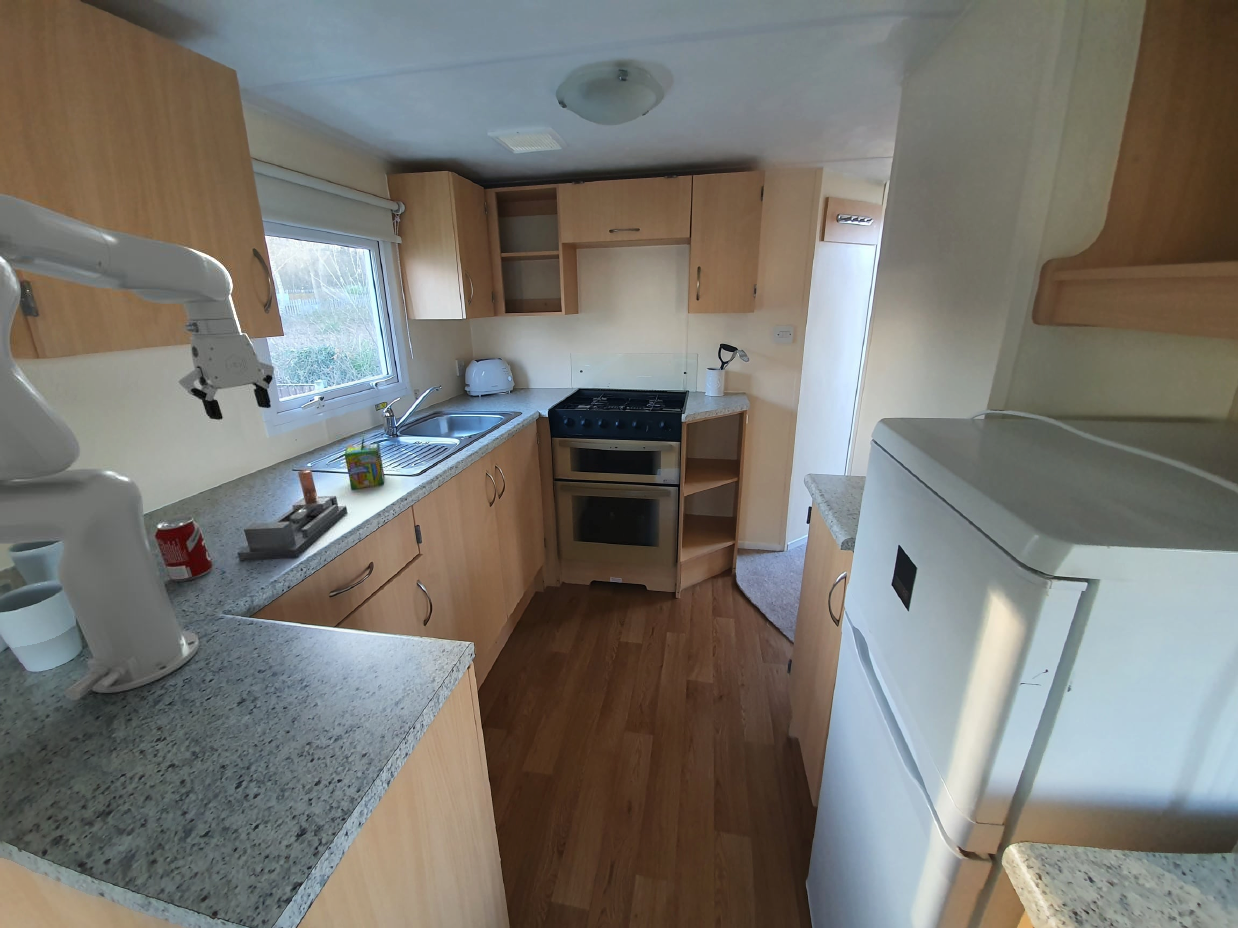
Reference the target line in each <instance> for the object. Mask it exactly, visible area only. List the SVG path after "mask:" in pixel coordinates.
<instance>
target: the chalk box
mask: <svg viewBox="0 0 1238 928" xmlns="http://www.w3.org/2000/svg"><path fill="white" fill-rule="evenodd" d="M364 441H365V435H362V440H361V444H353V445H346V447H345V452H344V459H345V464H346V465H345V466H346V469H347V474H348V478H349V484H350V489H351V490H357V489H363V488H371V487H379V486H384V484H385V472H384V466H383V459H382V455H381V454H382V453H381V448H380V442H374V443H373V442H371V443H365V442H364Z"/></svg>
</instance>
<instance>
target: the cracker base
mask: <svg viewBox="0 0 1238 928" xmlns="http://www.w3.org/2000/svg"><path fill="white" fill-rule="evenodd" d="M317 497H318V498H331V501H332V505H331V506H330V507H329V508H327V509H326V510H325V511H324V512H322V513H321V514H320V515H309V516H308V517H306V518H305V519H304V520H302V521H301V522H300V523H298V524H293V523H292V522H291V521H290V517H291V516H292V515H293V514H294V510H293V507H292V508H291V509H289V510H288V511H286V512H285V513H283V514H282V515H281V516H280V517H278V518H277V519H275V520H274V521H273V522H257V523H256V522H255V523H251V524H249V525H248V526H246V527H245V528H244V529H243V532H244V534H245V535H244V536H245V539H246V542H247V545H245V546H244V547H243V548H242V549H241V550H239V551H237V557H238V560H239V562H246V561H247V562H249V561H265V560H266V561H267V560H286V559H287V560H289V559H298V558H299V557H301V555H302V554H303V553H305V552H306V550H308V549H309V548H311V546H313V544H314V543H316V542H317V541H318V540H319V539H320V538H321V537H322V536H323V535H325V534H326V533H327V532H328V531H329V530H330V529H331V528H333V527H334V526H335V525H336V524H337V523H338V522H339V521H340V520H342V518H344V517H345V516H346V515H347V514H348V509H347V508H348V507H347V505H340V506H339V503H338V498H337V495H327V496H326V495H323V496H317ZM301 499H304V497H303V498H301ZM343 516H344V517H343Z"/></svg>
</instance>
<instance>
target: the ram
mask: <svg viewBox="0 0 1238 928" xmlns="http://www.w3.org/2000/svg"><path fill="white" fill-rule="evenodd" d="M297 474H298V478H299V482H300V486H301V490H302V494H303V498H304V499H302V498H300V499H299V500H297V501H296V502H295V503H293V504H292V506H291V507H292V508H293V510H294V514H293V515H292V516H291V517H290V521H291V522H292V523H293V524H298V523H300V522H301V521H302V520H304V519H305V518H306V517H308V516H309V515H320V514H321V513H322V512H324V511H325V510H326V509H327V508H329V507H330V506H331V505H332V501H331V498H318V497H319V496H318V493H317V489H316V485H315V480H314V477H313V473H312V469H305V470H300V471H298V472H297Z"/></svg>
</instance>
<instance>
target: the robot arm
mask: <svg viewBox="0 0 1238 928" xmlns="http://www.w3.org/2000/svg"><path fill="white" fill-rule="evenodd" d="M15 270H18V271H23V272H27V273H33V274H37V275H41V276H45V277H50V278H54V279H59V280H63V281H67V282H71V283H75V284H80V285H83V286H87V287H92V288H100V289H108V290H109V289H111V290H118V291H119V290H122V291H132V293H134V294H135V295H136V296H137V297H139V298H140V299H142V300H146V301H148V302H150V303H157V304H182V305H183V307H184V310H185V313H186V317H187V323H186V324H182V329H183V331H184V332H185V333H186V332H187V333H188V332H189V333H191V335H192V336H193V337H192V336H191V337H190V338H189V340H190V353H191V357H192V364H193V368H194V370H192V371H190V372H189V373H187V374H186V375H185V376H183V377H182V378H181V379H179V381H178V383H179V385H180V386H181V387H183V388H184V389H185V390H186V391H187V393H188V394H189V395H191V396H194V397H196V398H197V399H198V400H201V402H202V404H203V408H204V411H205V413H206V416H208V418H209V419H211V420H217V421H220V420H223V419H224V417H223V413H222V410H221V408H220V404H219V402H218V401H219V400H217V399H214V398H215V396H216V394H217V392H218V390H224V389H230V388H236V387H241V386H246V385H247V386H248V385H252V386H253V387H255V388H253V393H254V396H255V400H256V404H257V406H258V408H264V409H271V407H272V406H271V397H270V395H269V392H268V389H270V384H271V382H272V381H273V375H274V370H275V367H274V366H273V365H270V364H268V363H265V362H264V363H263V362H260V361H259V358H258V355H257V352H256V350H255V348H254V345H253V343H252V342H251V340H250V338H249V337H248V335H247V333H242V330H241V327H240V323H239V320H238V316H237V313H236V310H235V306H234V303H233V302H234V301H233V299H232V296H231V294H232V291H233V282H232V281H233V280H232V278H231V276H230V273H229V272H228V271H227V269H226V268H225V267H224V265H223V264H221V263H220V262H219V261H218V260H216V259H215V258H214V257H211V256H210V255H208V254H205V253H203V252H200V251H197V250H195V249H192V248H189V247H186V246H183V245H180V244H175V243H171V242H166V241H161V240H156V239H152V238H147V237H143V236H138V235H136V234H135V235H134V234H130V233H125V232H120V231H114V230H110V229H105V228H101V227H98V226H95V225H93V224H89V223H87V222H84V221H81V220H78V219H75V218H73V217H70V216H67V215H65V214H62V213H59V212H56V211H54V210H51V209H49V208H46V207H44V206H43V207H42V206H40V205H37V204H35V203H32V202H29V201H27V200H24V199H21V198H18V197H15V196H12V195H8V194H3V193H0V544H3V545H5V544H24V543H25V544H26V543H27V544H28V543H39V542H62V543H63V545H64V546H63V547H64V548H63V551H62V555H61V557H60V559H59V562H58V563H57V564H58V565H57V577H58V581H59V583H60V586H61V587H62V589H63V592H64V594H65V597H66V599H67V600H68V604H69V605H70V608H71V610H72V612H73V615H74V616H75V619H76V621H77V623H78V625H79V627H80V629H81V631H82V635H83V636H84V639H85V641H86V642H87V645H88V648H89V650H90V652H91V654H92V656H93V658H92V659H90V660H89V661H88V662H86V664H87V667H88V669H89V670H88V671H86V672H85V675H84V677H83V678H81V679H79V680H78V681H77V682H75V683H73V685H71V686H70V687H69V688H67V689H66V690H65V691H64V696H65V697H66V698H67V699H68V700H71V701H77V700H80V699H81V698H82V697H84V696H85V695H86V694H87V693H89V692H90V691H91V690H92V691H93V692H96V693H99V694H104V693H105V694H112V693H119V692H124V691H129V690H133V689H135V688H140V687H142V686H145V685H147V684H150V683H153V682H155V681H157V680H159V679H161V678H163V677H166V676H167V675H169V674H171V673H172V672H174V671H176V670H178V669H179V668H181V666H184V665H185V664H186V663H187V662H188V661H190V659H192V658H193V656H195V655H196V653H197V652H198V649H199V647H200V641H199V637H198V635H197V634H195V633H194V632H191V631H186V630H182V629H181V626H180V624H179V621H178V619H177V616H176V614H175V611H174V607H173V605H172V603H171V600H170V598H169V595H168V592H167V590H166V587H165V584H164V581H163V578H162V576H161V575H162V574H161V573H160V570H159V567H158V565H157V563H156V559H155V556H154V554H153V552H152V549H151V545H150V542H149V539H148V535H147V531H146V525H145V519H144V505H143V504H144V503H143V496H142V493H141V492H142V491H141V490H140V487H139V486H138V485H137V483H136V482H135V481H134V480H133V479H131V478H130V477H128V476H127V475H125V474H123V473H121V472H118V471H114V470H108V469H99V468H77V469H69V468H71V467H72V466H73V465H75V463H76V462H77V461H78V459H79V457H80V454H81V448H80V447H81V446H80V444H79V441H78V440H79V439H77V437H76V435H75V434H74V432H73V430H72V429H71V428H70V426H69V425H68V424H67V423H66V421H65V420H64V419H63V418H62V416H61V415H59V413H58V412H57V411H56V410H55V409H54V408H53V406H51V404H50V403H49V402H48V400H47V399H45V398H44V397H43V395H42V394H41V393H40V392H39V391H38V389H37V388H36V387H35V386H34V385H33V384H32V383H31V382H30V380H29V379H28V378H27V376H26V375H25V374H24V372H23V371H22V369H21V368H20V367H19V366H18V365H17V362H16V361H15V358H14V356H13V354H12V353H13V352H12V350H11V343H10V342H11V341H10V339H11V338H10V337H11V330H12V325H13V322H14V318H15V316H16V312H17V310H18V307H19V305H20V302H21V295H22V294H21V292H22V289H21V283H20V280H19V277H18V276H17V273H16V271H15ZM197 380H198V383H199V385H200V386H201V387H200V389H199V388H197V386H196V385H195V384H194V383H195V382H196V381H197Z"/></svg>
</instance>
